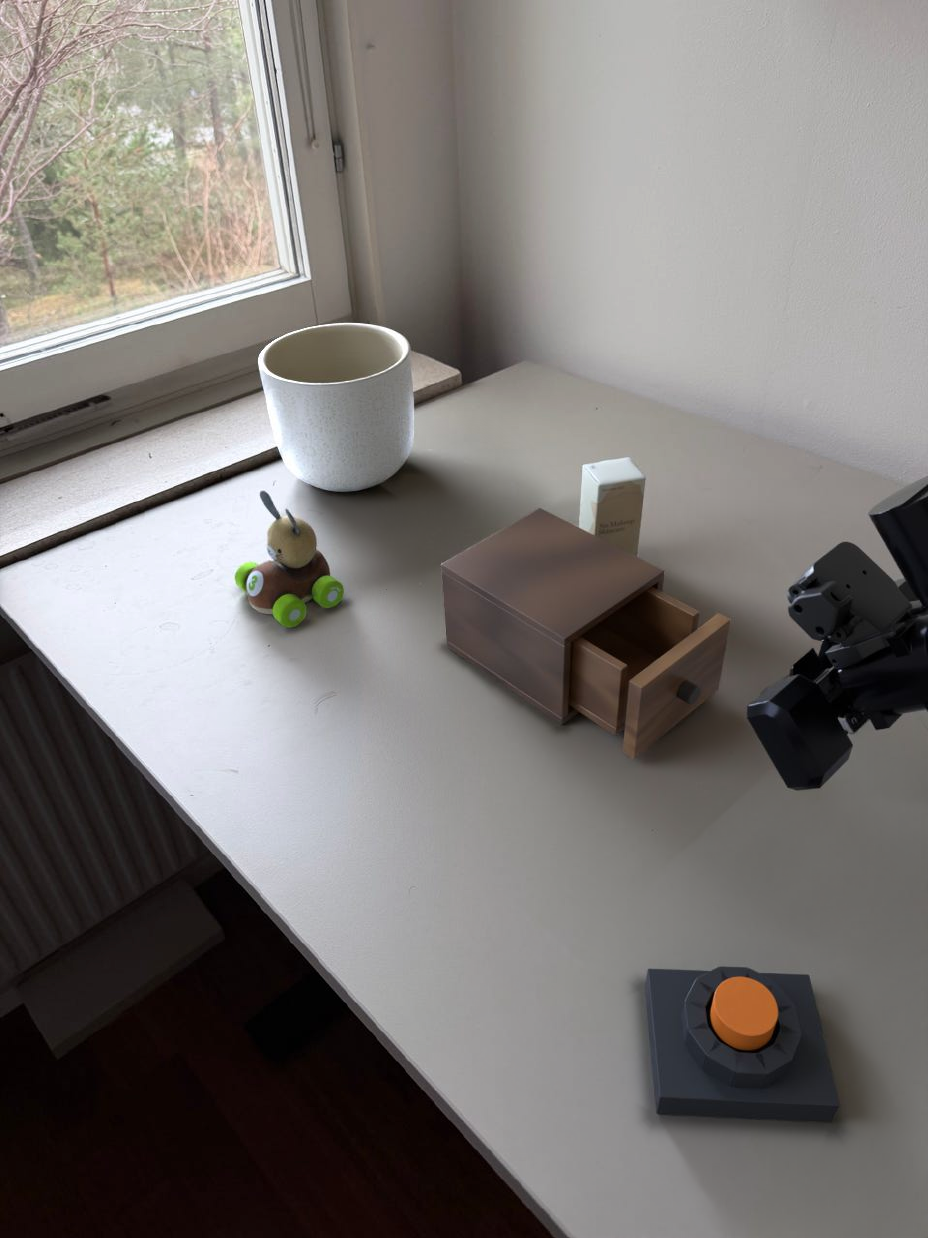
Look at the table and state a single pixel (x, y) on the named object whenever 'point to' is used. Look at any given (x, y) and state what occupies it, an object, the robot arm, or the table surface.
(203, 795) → the table surface
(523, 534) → the nightstand
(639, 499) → the box
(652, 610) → the brown wooden drawer
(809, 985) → the switch block
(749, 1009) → the button
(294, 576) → the toy car
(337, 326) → the planter
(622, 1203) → the table surface
